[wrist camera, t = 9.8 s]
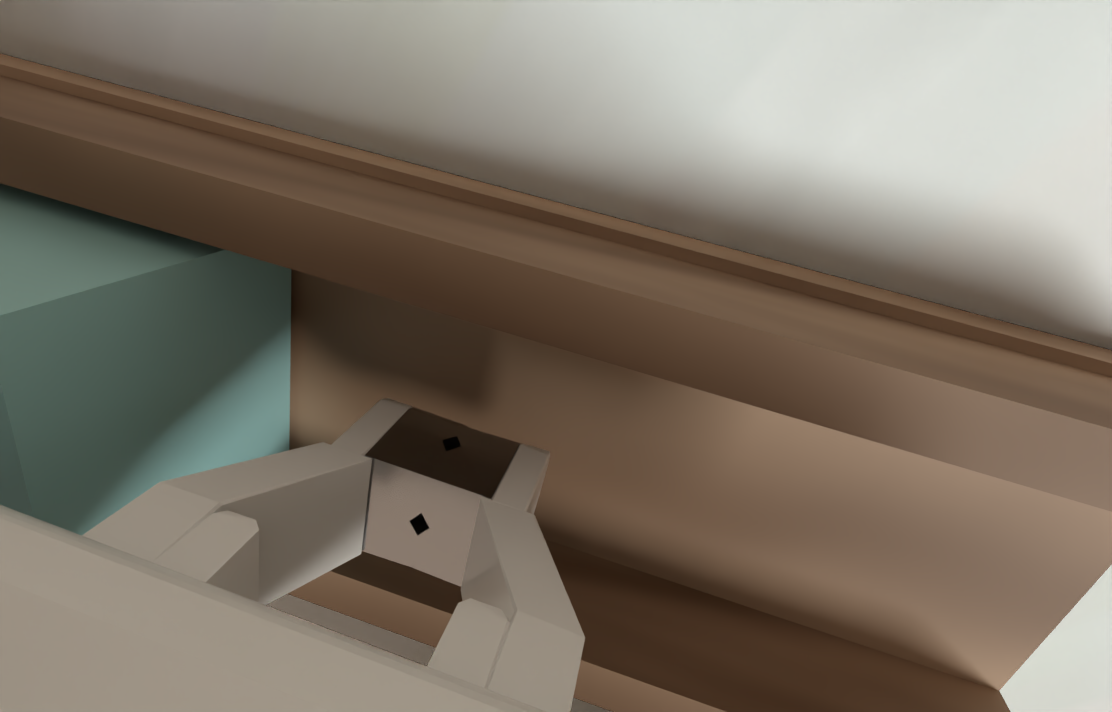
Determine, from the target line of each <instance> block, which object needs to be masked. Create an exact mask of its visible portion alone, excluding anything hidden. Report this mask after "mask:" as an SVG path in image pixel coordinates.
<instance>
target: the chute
mask: <svg viewBox="0 0 1112 712" xmlns="http://www.w3.org/2000/svg"><path fill="white" fill-rule="evenodd" d="M0 183H1V184H4V185H8V186H11V187H15V188H18V189H21V190H25V191H28V192H32V193H35V194H38V195H42V196H45V197H48V198H52V199H55V200H59V201H62V202H65V203H69V204H72V205H76V206H79V207H82V208H86V209H89V210H92V211H96V212H99V213H103V214H106V215H109V216H113V217H116V218H120V219H123V220H126V221H130V222H133V223H136V224H140V225H143V226H147V227H150V228H153V229H157V230H160V231H163V232H167V233H170V234H174V235H177V236H180V237H184V238H187V239H191V240H194V241H197V242H201V243H204V244H207V245H211V246H214V247H218V248H221V249H224V250H228V251H231V252H235V253H238V254H241V255H245V256H248V257H251V258H255V259H258V260H262V261H265V262H268V263H272V264H275V265H279V266H282V267H285V268H289V269H291V350H290V435H289V450H292V449H297V448H301V447H305V446H309V445H313V444H317V443H321V442H324V443H327V444H330V445H331V444H333V443H334V442H335V441H336V440H337V439H338V438H339V437H340V436H341V435H342V434H344V433H345V432H346V431H347V430H348V429H349V428H350V427H351V426H352V425H353V424H354V423H356V422H357V421H358V420H359V419H360V418H361V417H362V416H363V415H364V414H365V413H367V412H368V411H369V410H370V409H371V408H372V407H373V406H374V405H375V404H376V403H378V402H379V401H380V400H381V399H386V398H389V399H392V400H395V401H398V402H401V403H404V404H407V405H410V406H412V407H416V408H418V409H421V410H424V411H427V412H430V413H432V414H435V415H438V416H441V417H444V418H447V419H449V420H452V421H455V422H458V423H461V424H463V425H466V426H467V427H470V428H473V429H476V430H480V431H483V432H486V433H489V434H492V435H496V436H499V437H502V438H505V439H508V440H511V441H515V442H518V443H520V444H522V443H523V444H527V445H530V446H533V447H537V448H540V449H544V450H547V451H550V458H549V463H548V466H547V470H546V473H545V477H544V480H543V484H542V487H541V491H540V494H539V498H538V501H537V505H536V508H535V511H534V515H535V517H536V519H537V522H538V524H539V527H540V529H541V531H542V534H543V536H544V539H545V541H546V544H547V546H548V548H549V551H550V553H551V556H552V558H553V561H554V563H555V565H556V568H557V570H558V573H559V575H560V578H561V580H562V582H563V585H564V587H565V590H566V592H567V595H568V597H569V600H570V602H571V604H572V607H573V609H574V612H575V614H576V617H577V619H578V621H579V624H580V626H581V629H582V631H583V634H584V636H585V641H584V646H583V651H582V656H581V661H580V666H579V671H578V676H577V681H576V686H575V691H574V696H573V698H576V699H579V700H582V701H584V702H587V703H590V704H593V705H595V706H598V707H601V708H604V709H606V710H609V711H612V712H1010V710H1009V708H1008V707H1007V705H1006V703H1005V701H1004V699H1003V697H1002V695H1001V694H1000V692H999V690H1000V689H1001V688H1002V687H1003V686H1004V685H1005V683H1006V682H1007V681H1008V680H1009V679H1010V678H1011V677H1012V676H1013V674H1014V673H1015V672H1016V671H1017V670H1018V669H1019V668H1020V667H1021V665H1022V664H1023V663H1024V662H1025V661H1026V660H1027V659H1028V658H1029V657H1030V655H1031V654H1032V653H1033V652H1034V651H1035V650H1036V649H1037V648H1038V646H1039V645H1040V644H1041V643H1042V642H1043V641H1044V640H1045V639H1046V637H1047V636H1048V635H1049V634H1050V633H1051V632H1052V631H1053V630H1054V628H1055V627H1056V626H1057V625H1058V624H1059V623H1060V622H1061V621H1062V619H1063V618H1064V617H1065V616H1066V615H1067V614H1068V613H1069V612H1070V610H1071V609H1072V608H1073V607H1074V606H1075V605H1076V604H1077V603H1078V601H1079V600H1080V599H1081V598H1082V597H1083V596H1084V595H1085V594H1086V592H1087V591H1088V590H1089V589H1090V588H1091V587H1092V586H1093V585H1094V583H1095V582H1096V581H1097V580H1098V579H1099V578H1100V577H1101V576H1102V574H1103V573H1104V572H1105V571H1106V570H1107V569H1108V568H1109V567H1110V565H1111V564H1112V350H1109V349H1105V348H1102V347H1098V346H1094V345H1090V344H1087V343H1083V342H1079V341H1075V340H1072V339H1068V338H1064V337H1060V336H1057V335H1053V334H1049V333H1045V332H1042V331H1038V330H1034V329H1030V328H1027V327H1023V326H1019V325H1015V324H1012V323H1008V322H1004V321H1000V320H997V319H993V318H989V317H985V316H982V315H978V314H974V313H970V312H967V311H963V310H959V309H955V308H952V307H948V306H944V305H940V304H937V303H933V302H929V301H925V300H922V299H918V298H914V297H910V296H907V295H903V294H899V293H896V292H892V291H888V290H884V289H881V288H877V287H873V286H869V285H866V284H862V283H858V282H854V281H851V280H847V279H843V278H839V277H836V276H832V275H828V274H824V273H821V272H817V271H813V270H809V269H806V268H802V267H798V266H794V265H791V264H787V263H783V262H779V261H776V260H772V259H768V258H764V257H761V256H757V255H753V254H749V253H746V252H742V251H738V250H734V249H731V248H727V247H723V246H719V245H716V244H712V243H708V242H705V241H701V240H697V239H693V238H690V237H686V236H682V235H678V234H675V233H671V232H667V231H663V230H660V229H656V228H652V227H648V226H645V225H641V224H637V223H633V222H630V221H626V220H622V219H618V218H615V217H611V216H607V215H603V214H600V213H596V212H592V211H588V210H585V209H581V208H577V207H573V206H570V205H566V204H562V203H558V202H555V201H551V200H547V199H543V198H540V197H536V196H532V195H528V194H525V193H521V192H517V191H513V190H510V189H506V188H502V187H499V186H495V185H491V184H487V183H484V182H480V181H476V180H472V179H469V178H465V177H461V176H457V175H454V174H450V173H446V172H442V171H439V170H435V169H431V168H427V167H424V166H420V165H416V164H412V163H409V162H405V161H401V160H397V159H394V158H390V157H386V156H382V155H379V154H375V153H371V152H367V151H364V150H360V149H356V148H352V147H349V146H345V145H341V144H337V143H334V142H330V141H326V140H322V139H319V138H315V137H311V136H307V135H304V134H300V133H296V132H293V131H289V130H285V129H281V128H278V127H274V126H270V125H266V124H263V123H259V122H255V121H251V120H248V119H244V118H240V117H236V116H233V115H229V114H225V113H221V112H218V111H214V110H210V109H206V108H203V107H199V106H195V105H191V104H188V103H184V102H180V101H176V100H173V99H169V98H165V97H161V96H158V95H154V94H150V93H146V92H143V91H139V90H135V89H131V88H128V87H124V86H120V85H116V84H113V83H109V82H105V81H102V80H98V79H94V78H90V77H87V76H83V75H79V74H75V73H72V72H68V71H64V70H60V69H57V68H53V67H49V66H45V65H42V64H38V63H34V62H30V61H27V60H23V59H19V58H15V57H12V56H8V55H4V54H0ZM288 594H290V595H292V596H295V597H298V598H301V599H303V600H306V601H309V602H312V603H314V604H317V605H320V606H323V607H325V608H328V609H331V610H334V611H337V612H339V613H342V614H345V615H348V616H350V617H353V618H356V619H359V620H361V621H364V622H367V623H370V624H372V625H375V626H378V627H381V628H383V629H386V630H389V631H392V632H394V633H397V634H400V635H403V636H405V637H408V638H411V639H414V640H416V641H419V642H422V643H425V644H427V645H430V646H433V647H437V645H438V643H439V641H440V639H441V637H442V635H443V633H444V631H445V629H446V627H447V625H448V623H449V621H450V619H451V617H452V615H453V613H454V610H455V608H456V606H457V604H458V603H459V602H462V595H461V587H460V586H458V585H455V584H453V583H450V582H448V581H445V580H442V579H440V578H437V577H435V576H432V575H430V574H427V573H425V572H422V571H420V570H417V569H415V568H413V567H409V566H406V565H403V564H400V563H397V562H394V561H391V560H388V559H385V558H382V557H379V556H376V555H373V554H370V553H366V552H363V551H362V552H361V554H360V555H359V556H357V557H355V558H353V559H351V560H349V561H347V562H345V563H344V564H342V565H340V566H338V567H336V568H334V569H332V570H331V571H329V572H327V573H325V574H323V575H321V576H319V577H317V578H316V579H314V580H312V581H310V582H308V583H306V584H304V585H303V586H301V587H299V588H297V589H295V590H293V591H291V592H290V593H288Z"/></svg>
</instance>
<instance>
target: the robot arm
mask: <svg viewBox="0 0 1112 712" xmlns="http://www.w3.org/2000/svg"><path fill="white" fill-rule="evenodd" d="M549 458H550V451H547V450H544V449H540V448H537V447H533V446H530V445H527V444H523V443H522V444H520V443H518V442H515V441H511V440H508V439H505V438H502V437H499V436H496V435H492V434H489V433H486V432H483V431H480V430H476V429H473V428H470V427H467V426H466V425H463V424H461V423H458V422H455V421H452V420H449V419H447V418H444V417H441V416H438V415H435V414H432V413H430V412H427V411H424V410H421V409H418V408H416V407H412V406H410V405H407V404H404V403H401V402H398V401H395V400H392V399H389V398H386V399H381V400H380V401H379V402H378V403H376V404H375V405H374V406H373V407H372V408H371V409H370V410H369V411H368V412H367V413H365V414H364V415H363V416H362V417H361V418H360V419H359V420H358V421H357V422H356V423H354V424H353V425H352V426H351V427H350V428H349V429H348V430H347V431H346V432H345V433H344V434H342V435H341V436H340V437H339V438H338V439H337V440H336V441H335V442H334V443H333V444H331V445H330V444H327V443H324V442H321V443H317V444H313V445H309V446H305V447H301V448H297V449H292V450H288V451H284V452H280V453H276V454H272V455H268V456H264V457H260V458H256V459H252V460H248V461H243V462H239V463H235V464H231V465H227V466H223V467H219V468H215V469H211V470H207V471H203V472H199V473H194V474H190V475H186V476H182V477H178V478H174V479H170V480H166V481H162V482H159V483H157V484H156V485H154V486H153V487H152V488H150V489H149V490H147V491H146V492H144V493H143V494H141V495H140V496H138V497H137V498H136V499H134V500H133V501H131V502H130V503H128V504H127V505H125V506H124V507H122V508H121V509H120V510H118V511H117V512H115V513H114V514H112V515H111V516H109V517H108V518H106V519H105V520H104V521H102V522H101V523H99V524H98V525H96V526H95V527H93V528H92V529H91V530H89V531H88V532H86V533H85V534H83V535H79V534H76V533H74V532H71V531H69V530H66V529H63V528H61V527H58V526H55V525H53V524H50V523H47V522H45V521H42V520H39V519H37V518H34V517H32V516H29V515H26V514H24V513H21V512H18V511H16V510H13V509H10V508H8V507H5V506H3V505H0V712H570V711H571V706H572V701H573V696H574V691H575V686H576V681H577V676H578V671H579V666H580V661H581V656H582V651H583V646H584V641H585V636H584V634H583V631H582V629H581V626H580V624H579V621H578V619H577V617H576V614H575V612H574V609H573V607H572V604H571V602H570V600H569V597H568V595H567V592H566V590H565V587H564V585H563V582H562V580H561V578H560V575H559V573H558V570H557V568H556V565H555V563H554V561H553V558H552V556H551V553H550V551H549V548H548V546H547V544H546V541H545V539H544V536H543V534H542V531H541V529H540V527H539V524H538V522H537V519H536V517H535V515H534V511H535V508H536V505H537V501H538V498H539V494H540V491H541V487H542V484H543V480H544V477H545V473H546V470H547V466H548V463H549ZM362 551H363V552H366V553H370V554H373V555H376V556H379V557H382V558H385V559H388V560H391V561H394V562H397V563H400V564H403V565H406V566H409V567H413V568H415V569H417V570H420V571H422V572H425V573H427V574H430V575H432V576H435V577H437V578H440V579H442V580H445V581H448V582H450V583H453V584H455V585H458V586H460V587H461V595H462V602H459V603H458V604H457V606H456V608H455V610H454V613H453V615H452V617H451V619H450V621H449V623H448V625H447V627H446V629H445V631H444V633H443V635H442V637H441V639H440V641H439V643H438V645H437V647H436V649H435V651H434V653H433V655H432V657H431V659H430V661H429V663H428V665H427V666H425V665H422V664H420V663H417V662H414V661H412V660H409V659H406V658H404V657H401V656H399V655H396V654H393V653H391V652H388V651H385V650H383V649H380V648H378V647H375V646H372V645H370V644H367V643H364V642H362V641H359V640H356V639H354V638H351V637H349V636H346V635H343V634H341V633H338V632H335V631H333V630H330V629H327V628H325V627H322V626H319V625H317V624H314V623H312V622H309V621H306V620H304V619H301V618H298V617H296V616H293V615H290V614H288V613H285V612H282V611H280V610H277V609H275V608H272V607H269V606H267V604H269V603H271V602H273V601H275V600H276V599H278V598H280V597H282V596H284V595H286V594H288V593H290V592H291V591H293V590H295V589H297V588H299V587H301V586H303V585H304V584H306V583H308V582H310V581H312V580H314V579H316V578H317V577H319V576H321V575H323V574H325V573H327V572H329V571H331V570H332V569H334V568H336V567H338V566H340V565H342V564H344V563H345V562H347V561H349V560H351V559H353V558H355V557H357V556H359V555H360V554H361V552H362Z"/></svg>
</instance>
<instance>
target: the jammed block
mask: <svg viewBox="0 0 1112 712" xmlns="http://www.w3.org/2000/svg"><path fill="white" fill-rule="evenodd" d="M290 350H291V269H289V268H285V267H282V266H279V265H275V264H272V263H268V262H265V261H262V260H258V259H255V258H251V257H248V256H245V255H241V254H238V253H235V252H231V251H228V250H224V249H221V248H218V247H214V246H211V245H207V244H204V243H201V242H197V241H194V240H191V239H187V238H184V237H180V236H177V235H174V234H170V233H167V232H163V231H160V230H157V229H153V228H150V227H147V226H143V225H140V224H136V223H133V222H130V221H126V220H123V219H120V218H116V217H113V216H109V215H106V214H103V213H99V212H96V211H92V210H89V209H86V208H82V207H79V206H76V205H72V204H69V203H65V202H62V201H59V200H55V199H52V198H48V197H45V196H42V195H38V194H35V193H32V192H28V191H25V190H21V189H18V188H15V187H11V186H8V185H4V184H1V183H0V505H3V506H5V507H8V508H10V509H13V510H16V511H18V512H21V513H24V514H26V515H29V516H32V517H34V518H37V519H39V520H42V521H45V522H47V523H50V524H53V525H55V526H58V527H61V528H63V529H66V530H69V531H71V532H74V533H76V534H79V535H83V534H85V533H86V532H88V531H89V530H91V529H92V528H93V527H95V526H96V525H98V524H99V523H101V522H102V521H104V520H105V519H106V518H108V517H109V516H111V515H112V514H114V513H115V512H117V511H118V510H120V509H121V508H122V507H124V506H125V505H127V504H128V503H130V502H131V501H133V500H134V499H136V498H137V497H138V496H140V495H141V494H143V493H144V492H146V491H147V490H149V489H150V488H152V487H153V486H154V485H156V484H157V483H159V482H162V481H166V480H170V479H174V478H178V477H182V476H186V475H190V474H194V473H199V472H203V471H207V470H211V469H215V468H219V467H223V466H227V465H231V464H235V463H239V462H243V461H248V460H252V459H256V458H260V457H264V456H268V455H272V454H276V453H280V452H284V451H288V450H289V435H290Z"/></svg>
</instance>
